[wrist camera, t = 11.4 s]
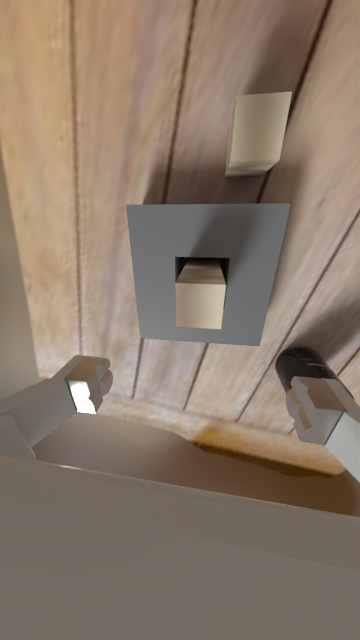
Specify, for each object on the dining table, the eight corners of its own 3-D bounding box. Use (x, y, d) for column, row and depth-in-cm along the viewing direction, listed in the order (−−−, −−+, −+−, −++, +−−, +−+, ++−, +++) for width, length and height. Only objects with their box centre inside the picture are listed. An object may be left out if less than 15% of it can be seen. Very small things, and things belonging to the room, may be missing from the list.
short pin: (268, 127, 19) (292, 91, 14) (261, 176, 21) (279, 160, 16) (228, 129, 20) (236, 95, 15) (224, 177, 22) (230, 161, 16)
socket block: (274, 207, 22) (291, 203, 18) (251, 327, 29) (259, 346, 25) (141, 208, 24) (126, 204, 20) (149, 321, 31) (140, 337, 27)
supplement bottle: (314, 339, 29) (376, 406, 18) (323, 372, 31) (383, 448, 21) (268, 353, 31) (300, 420, 20) (279, 383, 34) (313, 457, 23)
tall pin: (218, 259, 26) (225, 284, 15) (215, 288, 27) (221, 329, 17) (188, 258, 26) (175, 283, 15) (187, 287, 28) (175, 326, 17)
